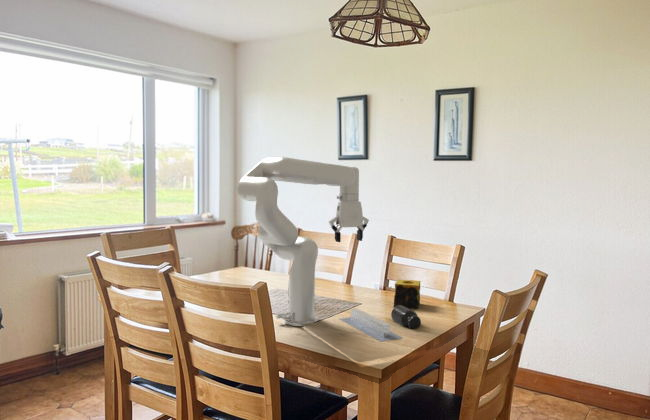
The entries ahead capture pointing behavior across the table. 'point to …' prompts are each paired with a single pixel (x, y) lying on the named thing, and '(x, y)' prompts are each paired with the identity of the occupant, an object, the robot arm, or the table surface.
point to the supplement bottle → (405, 317)
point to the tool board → (371, 333)
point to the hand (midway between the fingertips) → (348, 241)
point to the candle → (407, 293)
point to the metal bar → (370, 322)
